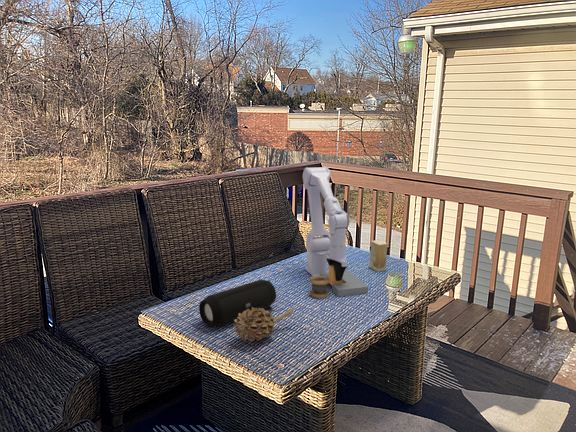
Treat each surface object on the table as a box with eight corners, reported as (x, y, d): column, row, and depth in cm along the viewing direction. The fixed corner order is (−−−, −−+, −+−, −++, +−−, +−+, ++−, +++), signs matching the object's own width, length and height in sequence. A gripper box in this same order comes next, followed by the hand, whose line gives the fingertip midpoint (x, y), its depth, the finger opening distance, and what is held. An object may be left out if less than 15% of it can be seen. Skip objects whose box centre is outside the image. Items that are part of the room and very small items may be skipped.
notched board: (320, 279, 184) (320, 273, 184) (347, 276, 188) (347, 270, 187) (338, 296, 167) (338, 290, 167) (367, 292, 171) (368, 286, 170)
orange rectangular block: (328, 282, 178) (328, 265, 176) (337, 281, 179) (338, 264, 177) (332, 286, 174) (333, 268, 172) (342, 285, 175) (342, 267, 173)
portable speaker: (215, 333, 140) (214, 303, 137) (197, 322, 147) (196, 293, 144) (277, 309, 157) (278, 282, 154) (259, 300, 164) (259, 274, 161)
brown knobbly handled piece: (247, 354, 128) (247, 321, 126) (227, 341, 135) (226, 310, 133) (302, 328, 143) (302, 299, 141) (281, 318, 150) (281, 290, 148)
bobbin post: (307, 291, 172) (307, 276, 170) (324, 289, 174) (324, 274, 172) (313, 299, 165) (314, 283, 164) (331, 296, 167) (332, 281, 166)
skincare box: (368, 267, 198) (370, 240, 195) (377, 266, 200) (378, 239, 197) (377, 272, 192) (379, 244, 190) (386, 270, 194) (387, 243, 191)
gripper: (320, 240, 178) (319, 272, 181) (335, 251, 165) (334, 286, 168) (337, 238, 180) (336, 271, 184) (353, 249, 167) (351, 284, 170)
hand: (336, 278), depth 176 cm, fingers closed on orange rectangular block, 4 cm apart
